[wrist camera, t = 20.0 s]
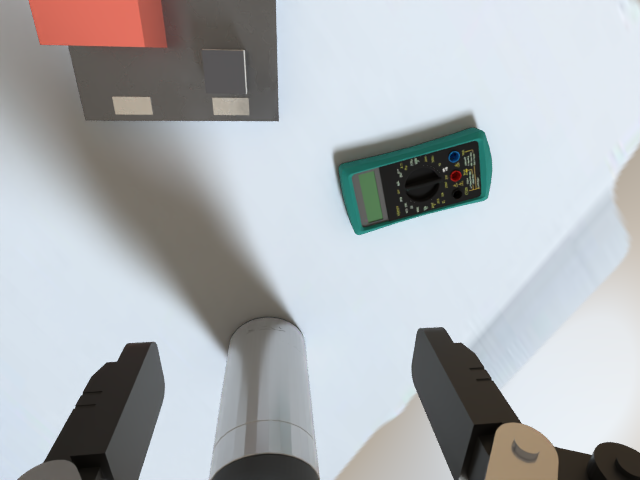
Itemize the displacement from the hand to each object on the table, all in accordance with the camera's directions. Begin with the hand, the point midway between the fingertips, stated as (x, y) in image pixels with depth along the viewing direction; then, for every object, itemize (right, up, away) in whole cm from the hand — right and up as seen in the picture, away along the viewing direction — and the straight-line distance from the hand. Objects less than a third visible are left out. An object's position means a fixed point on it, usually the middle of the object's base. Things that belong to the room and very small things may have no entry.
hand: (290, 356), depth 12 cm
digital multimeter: (+10, +10, +29) cm, 32 cm away
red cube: (-14, +22, +17) cm, 31 cm away
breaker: (-7, +17, +20) cm, 27 cm away
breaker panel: (-11, +21, +20) cm, 31 cm away
